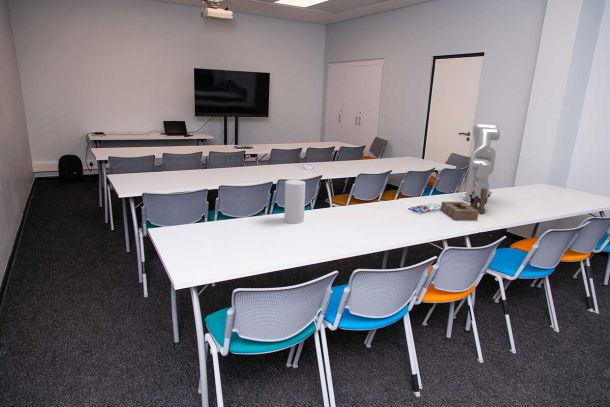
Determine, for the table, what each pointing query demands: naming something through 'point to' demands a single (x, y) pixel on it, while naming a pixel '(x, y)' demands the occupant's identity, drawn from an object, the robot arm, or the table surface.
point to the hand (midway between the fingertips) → (478, 203)
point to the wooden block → (480, 202)
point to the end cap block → (459, 211)
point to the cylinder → (294, 201)
